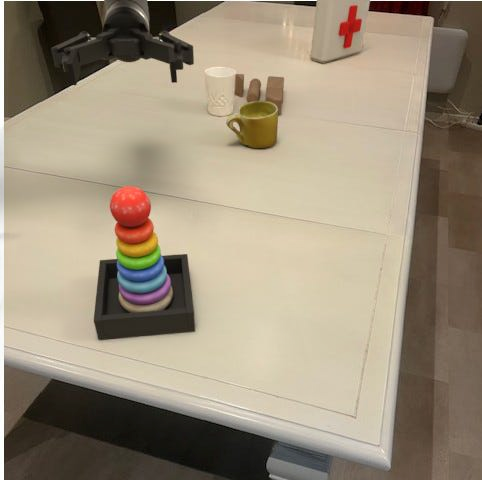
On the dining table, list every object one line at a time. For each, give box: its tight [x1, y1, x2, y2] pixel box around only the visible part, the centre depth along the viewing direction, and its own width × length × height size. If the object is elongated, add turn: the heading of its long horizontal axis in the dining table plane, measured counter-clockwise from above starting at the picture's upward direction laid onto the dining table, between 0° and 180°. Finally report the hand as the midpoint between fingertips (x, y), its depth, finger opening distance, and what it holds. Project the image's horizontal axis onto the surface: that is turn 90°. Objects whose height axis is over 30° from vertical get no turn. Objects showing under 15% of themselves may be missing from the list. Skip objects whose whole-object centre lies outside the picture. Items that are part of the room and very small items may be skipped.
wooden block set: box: [235, 73, 285, 115], centre depth 132 cm, size 17×6×18 cm
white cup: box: [204, 66, 237, 117], centre depth 125 cm, size 8×8×10 cm
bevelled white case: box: [310, 0, 371, 64], centre depth 160 cm, size 21×8×20 cm, turn 132°
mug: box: [225, 100, 279, 149], centre depth 113 cm, size 12×10×10 cm
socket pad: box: [93, 253, 196, 341], centre depth 72 cm, size 14×14×4 cm
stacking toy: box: [109, 185, 173, 313], centre depth 66 cm, size 8×8×19 cm
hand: (123, 73), depth 65 cm, fingers open, 13 cm apart
